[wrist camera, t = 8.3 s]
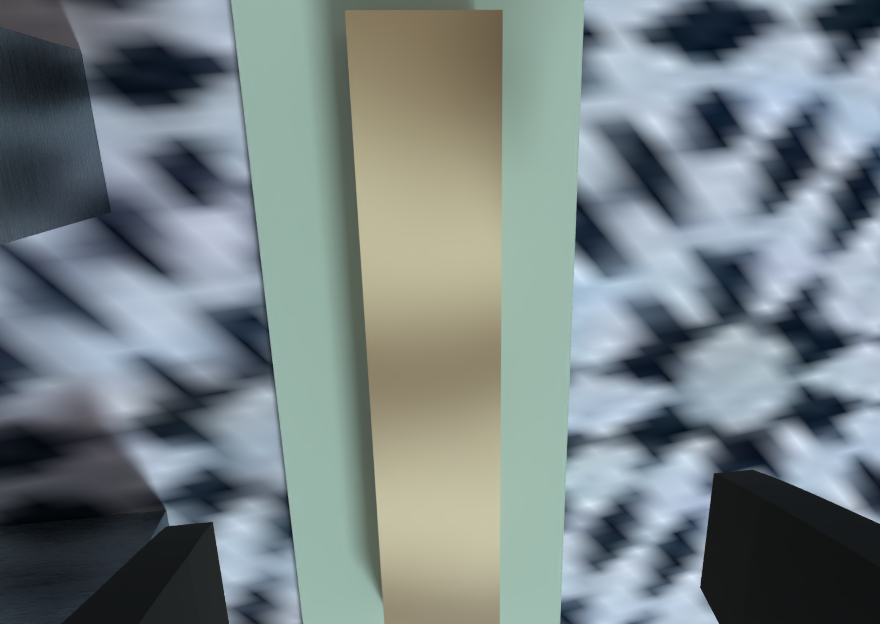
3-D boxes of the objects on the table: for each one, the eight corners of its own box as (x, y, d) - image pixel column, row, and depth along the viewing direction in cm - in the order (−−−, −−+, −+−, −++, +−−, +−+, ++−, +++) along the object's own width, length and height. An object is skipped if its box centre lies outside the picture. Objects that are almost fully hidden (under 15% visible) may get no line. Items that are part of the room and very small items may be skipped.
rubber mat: (554, 627, 20) (559, 640, 19) (309, 657, 19) (308, 671, 18) (579, -57, 14) (586, -64, 13) (228, -59, 13) (223, -67, 13)
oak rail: (482, 597, 18) (499, 665, 16) (385, 608, 18) (388, 679, 16) (478, 31, 14) (502, 9, 11) (348, 32, 13) (344, 10, 11)
